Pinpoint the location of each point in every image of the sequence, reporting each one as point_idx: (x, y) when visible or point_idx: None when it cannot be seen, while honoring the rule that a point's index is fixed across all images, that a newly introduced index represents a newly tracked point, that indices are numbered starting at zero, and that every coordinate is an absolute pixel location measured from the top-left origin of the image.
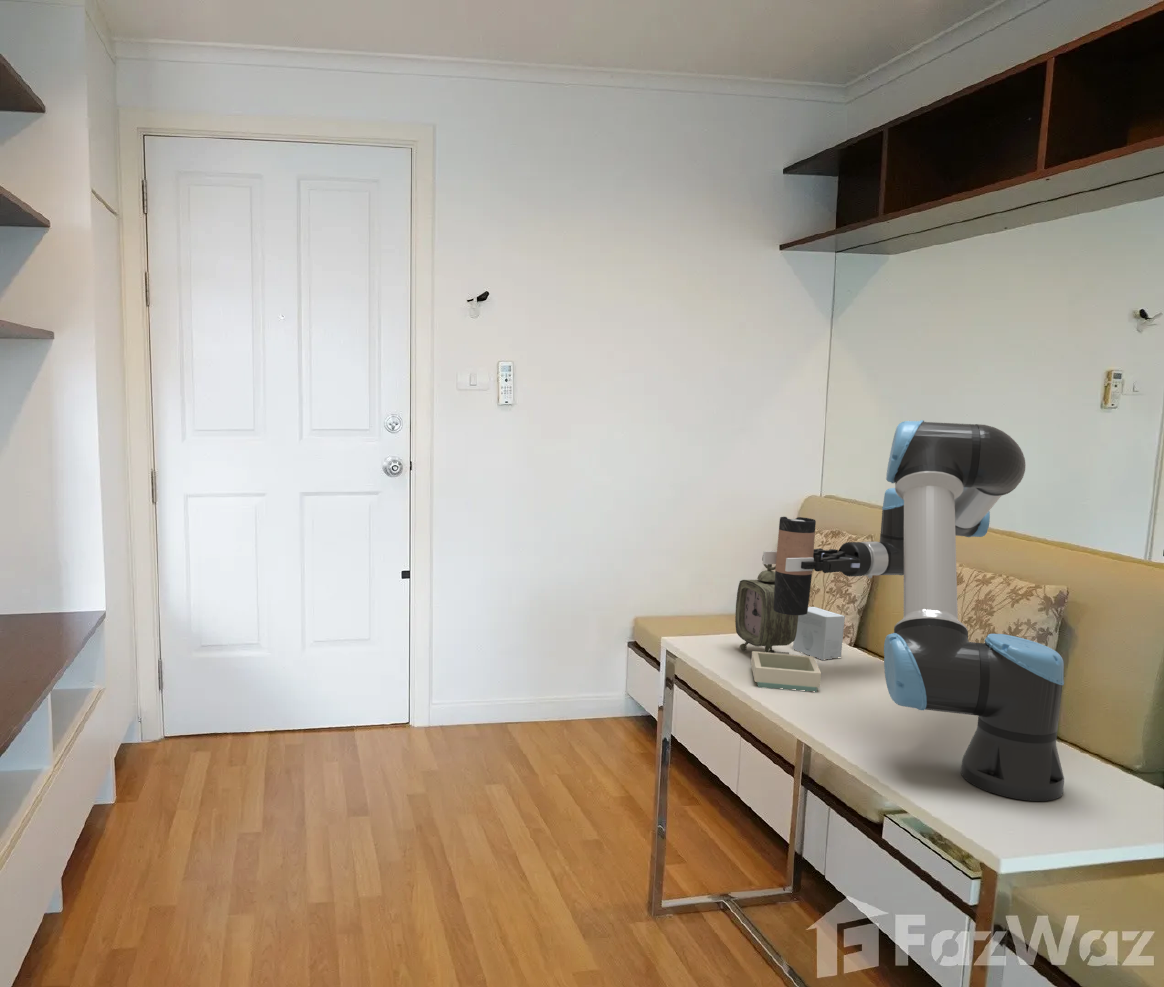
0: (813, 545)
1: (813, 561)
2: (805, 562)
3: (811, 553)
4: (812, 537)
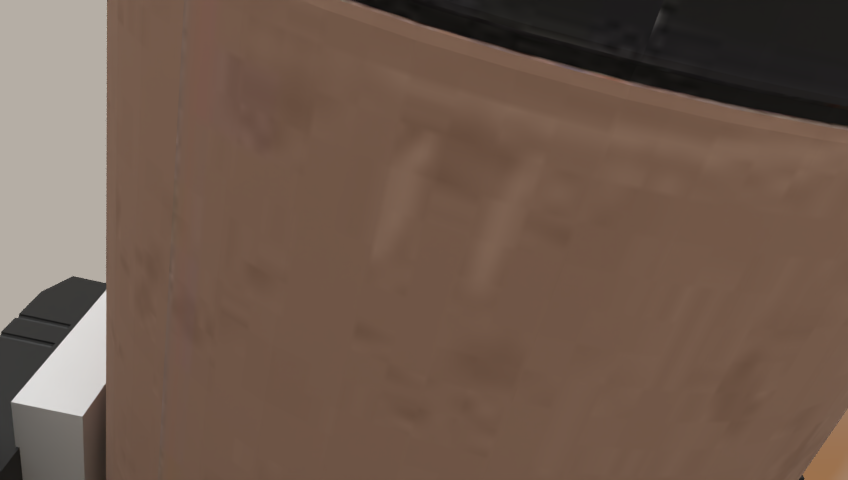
0: (120, 286)
1: (10, 429)
2: (62, 286)
3: (107, 372)
4: (109, 26)
